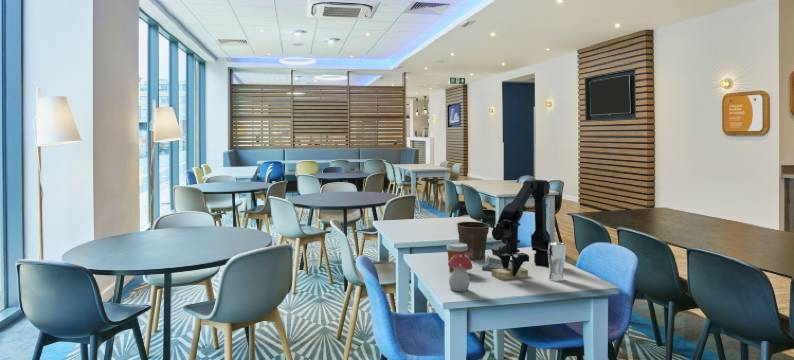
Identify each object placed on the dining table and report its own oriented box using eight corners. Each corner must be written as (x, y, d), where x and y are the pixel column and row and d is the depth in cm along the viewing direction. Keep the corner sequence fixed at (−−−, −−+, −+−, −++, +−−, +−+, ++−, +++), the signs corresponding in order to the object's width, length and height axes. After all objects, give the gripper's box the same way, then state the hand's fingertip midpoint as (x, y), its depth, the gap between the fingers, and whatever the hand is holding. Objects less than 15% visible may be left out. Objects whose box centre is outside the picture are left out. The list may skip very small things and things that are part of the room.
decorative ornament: (474, 289, 185) (475, 251, 184) (466, 294, 180) (467, 254, 178) (453, 285, 190) (453, 248, 189) (444, 289, 185) (445, 251, 184)
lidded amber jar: (470, 270, 213) (471, 243, 212) (464, 275, 204) (464, 247, 203) (449, 267, 217) (450, 241, 216) (442, 273, 208) (443, 245, 207)
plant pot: (491, 261, 229) (492, 227, 228) (457, 260, 230) (458, 227, 228) (486, 253, 246) (486, 221, 244) (454, 252, 246) (454, 221, 245)
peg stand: (517, 268, 217) (517, 256, 216) (517, 272, 210) (517, 260, 209) (483, 266, 220) (483, 254, 220) (482, 270, 213) (482, 257, 213)
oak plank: (519, 273, 209) (519, 266, 209) (527, 277, 204) (528, 270, 204) (491, 276, 204) (491, 269, 204) (499, 280, 199) (499, 273, 199)
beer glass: (564, 278, 202) (565, 242, 201) (564, 282, 195) (566, 246, 194) (547, 276, 204) (548, 241, 203) (546, 280, 198) (547, 244, 196)
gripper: (482, 234, 209) (481, 269, 210) (507, 243, 191) (506, 281, 192) (504, 232, 213) (503, 267, 214) (530, 241, 195) (529, 279, 197)
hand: (509, 273), depth 204 cm, fingers closed on oak plank, 6 cm apart
